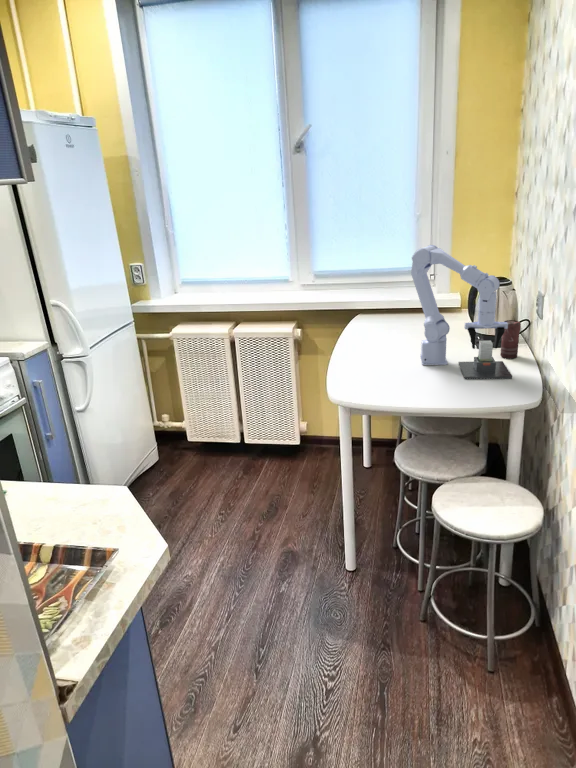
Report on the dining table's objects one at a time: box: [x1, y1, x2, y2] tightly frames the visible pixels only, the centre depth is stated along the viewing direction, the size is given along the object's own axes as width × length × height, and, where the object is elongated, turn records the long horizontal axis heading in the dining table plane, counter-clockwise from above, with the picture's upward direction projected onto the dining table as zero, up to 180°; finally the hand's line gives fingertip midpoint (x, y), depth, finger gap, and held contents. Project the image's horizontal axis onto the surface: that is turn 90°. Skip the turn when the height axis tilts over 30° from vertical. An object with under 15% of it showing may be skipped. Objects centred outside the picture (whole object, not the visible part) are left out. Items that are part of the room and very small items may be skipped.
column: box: [477, 340, 494, 362], centre depth 202 cm, size 4×4×8 cm
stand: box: [457, 356, 513, 380], centre depth 204 cm, size 16×16×4 cm
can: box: [499, 319, 522, 360], centre depth 215 cm, size 6×6×14 cm
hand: (484, 347), depth 203 cm, fingers open, 7 cm apart
